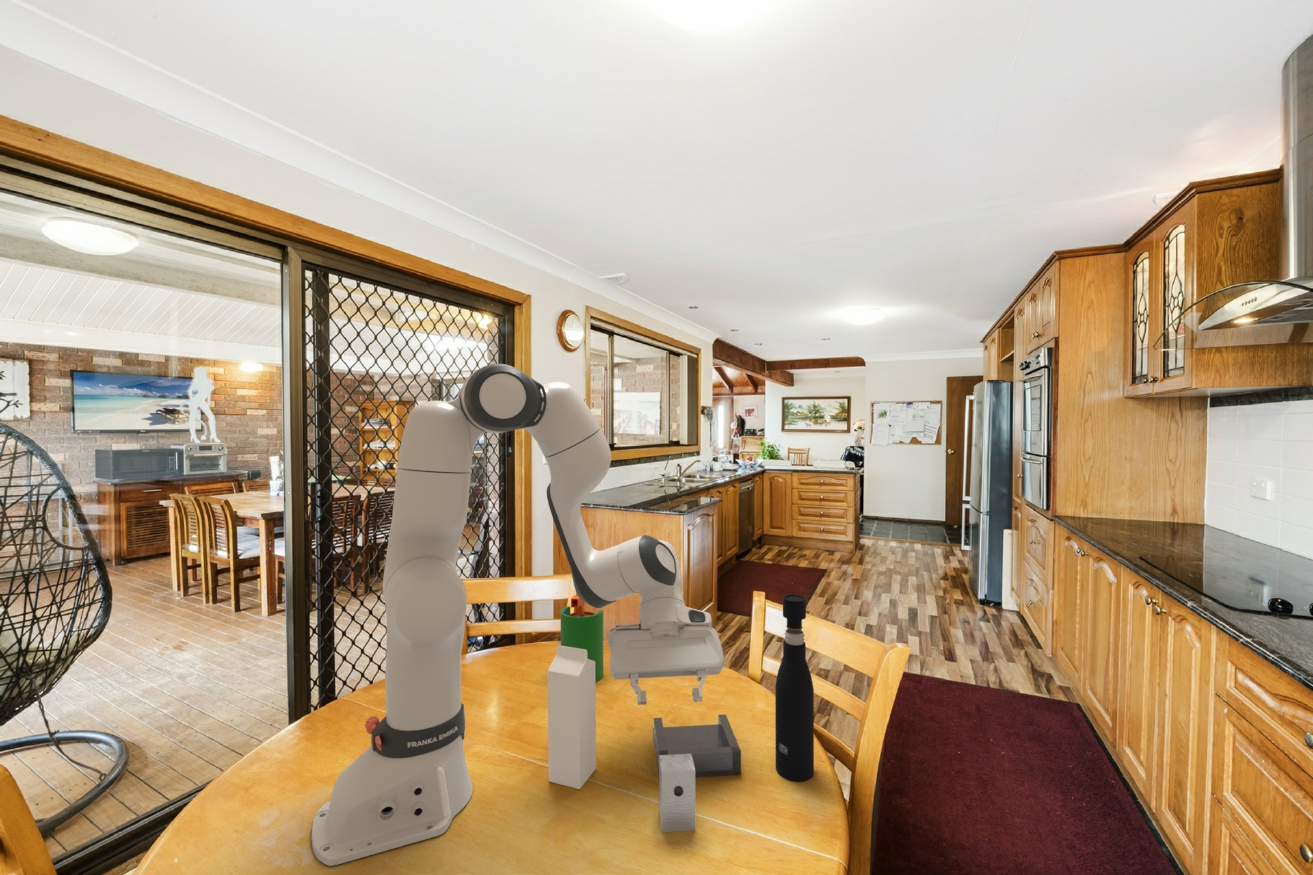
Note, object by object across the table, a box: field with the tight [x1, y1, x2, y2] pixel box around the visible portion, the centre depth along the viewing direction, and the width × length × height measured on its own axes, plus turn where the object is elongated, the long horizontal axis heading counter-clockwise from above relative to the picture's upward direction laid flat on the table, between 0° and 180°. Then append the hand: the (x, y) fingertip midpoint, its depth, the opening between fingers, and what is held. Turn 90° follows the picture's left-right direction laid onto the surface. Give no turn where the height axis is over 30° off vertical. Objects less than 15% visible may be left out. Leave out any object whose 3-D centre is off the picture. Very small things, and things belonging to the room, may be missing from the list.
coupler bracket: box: [652, 714, 742, 778], centre depth 99 cm, size 14×14×4 cm
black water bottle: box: [774, 594, 815, 783], centre depth 93 cm, size 6×6×30 cm
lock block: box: [658, 754, 697, 833], centre depth 81 cm, size 4×5×9 cm
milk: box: [547, 644, 597, 790], centre depth 92 cm, size 6×6×22 cm
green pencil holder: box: [560, 594, 604, 683], centre depth 129 cm, size 10×9×20 cm
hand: (670, 702), depth 91 cm, fingers open, 8 cm apart
